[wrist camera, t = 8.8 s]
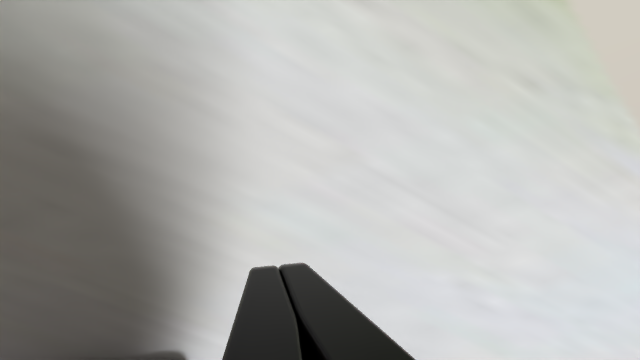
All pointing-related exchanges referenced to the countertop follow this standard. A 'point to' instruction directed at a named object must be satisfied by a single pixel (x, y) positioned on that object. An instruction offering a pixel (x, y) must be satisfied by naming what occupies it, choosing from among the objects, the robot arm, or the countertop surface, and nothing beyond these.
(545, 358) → the countertop surface
